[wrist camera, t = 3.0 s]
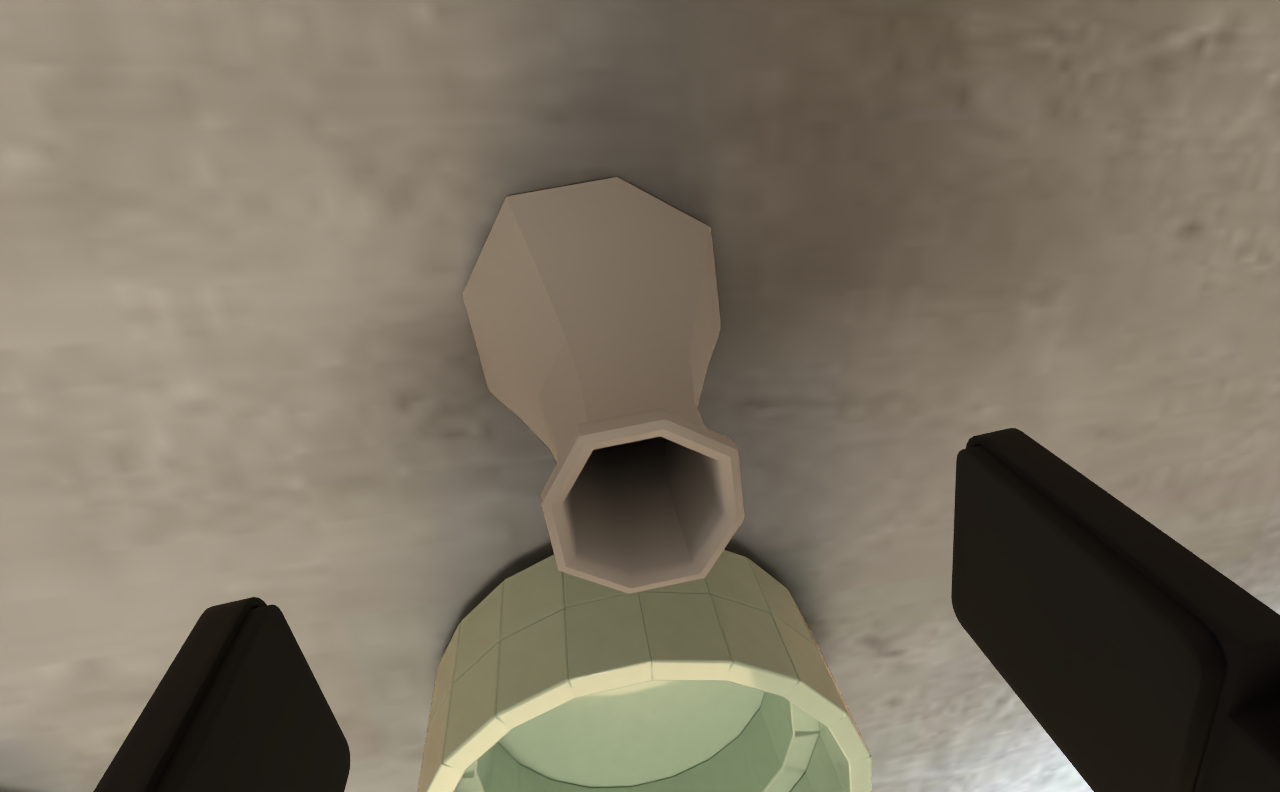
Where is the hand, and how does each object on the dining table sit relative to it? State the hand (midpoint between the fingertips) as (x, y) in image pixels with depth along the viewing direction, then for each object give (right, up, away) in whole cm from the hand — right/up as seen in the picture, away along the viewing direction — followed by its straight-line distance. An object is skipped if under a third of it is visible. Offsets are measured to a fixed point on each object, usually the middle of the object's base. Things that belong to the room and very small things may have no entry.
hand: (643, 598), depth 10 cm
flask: (-1, +5, +10) cm, 12 cm away
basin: (-1, -7, +16) cm, 18 cm away
